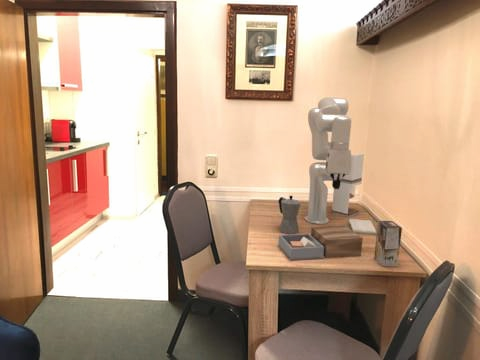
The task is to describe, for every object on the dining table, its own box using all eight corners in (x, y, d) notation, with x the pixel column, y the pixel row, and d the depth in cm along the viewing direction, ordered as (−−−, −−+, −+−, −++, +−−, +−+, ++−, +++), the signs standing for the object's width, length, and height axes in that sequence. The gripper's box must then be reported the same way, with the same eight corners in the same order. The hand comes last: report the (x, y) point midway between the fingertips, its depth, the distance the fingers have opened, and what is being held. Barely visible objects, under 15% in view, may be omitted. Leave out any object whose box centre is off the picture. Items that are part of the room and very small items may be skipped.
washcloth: (370, 224, 205) (370, 218, 205) (377, 235, 188) (377, 229, 187) (347, 222, 207) (347, 217, 206) (352, 234, 189) (352, 228, 189)
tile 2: (312, 241, 166) (308, 246, 167) (303, 236, 165) (300, 241, 165) (316, 247, 162) (313, 251, 162) (307, 241, 160) (304, 246, 160)
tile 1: (301, 241, 167) (301, 246, 168) (290, 241, 167) (290, 246, 167) (304, 245, 162) (303, 251, 163) (292, 245, 162) (292, 251, 162)
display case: (348, 217, 214) (354, 155, 207) (331, 213, 221) (336, 153, 214) (358, 213, 222) (364, 153, 215) (341, 209, 229) (346, 151, 222)
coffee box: (398, 266, 152) (403, 227, 149) (382, 266, 152) (387, 227, 148) (388, 257, 161) (392, 220, 158) (373, 257, 161) (377, 220, 157)
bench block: (310, 244, 173) (311, 227, 172) (342, 242, 177) (344, 225, 175) (325, 258, 158) (326, 239, 156) (360, 256, 161) (362, 237, 160)
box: (278, 245, 170) (278, 235, 169) (308, 244, 173) (308, 233, 172) (290, 260, 155) (291, 248, 154) (323, 258, 158) (324, 247, 157)
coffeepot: (305, 233, 187) (307, 197, 183) (290, 236, 182) (292, 199, 178) (284, 224, 199) (286, 190, 196) (270, 227, 194) (272, 192, 190)
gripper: (326, 147, 157) (323, 191, 162) (360, 147, 160) (356, 190, 164) (319, 144, 164) (316, 186, 169) (352, 144, 167) (348, 185, 172)
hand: (335, 188), depth 167 cm, fingers closed
